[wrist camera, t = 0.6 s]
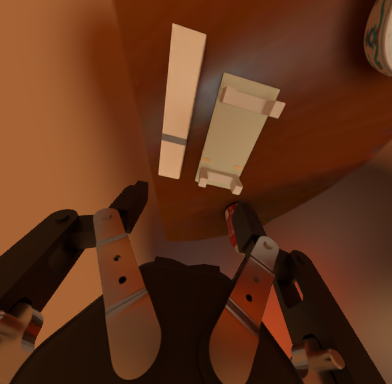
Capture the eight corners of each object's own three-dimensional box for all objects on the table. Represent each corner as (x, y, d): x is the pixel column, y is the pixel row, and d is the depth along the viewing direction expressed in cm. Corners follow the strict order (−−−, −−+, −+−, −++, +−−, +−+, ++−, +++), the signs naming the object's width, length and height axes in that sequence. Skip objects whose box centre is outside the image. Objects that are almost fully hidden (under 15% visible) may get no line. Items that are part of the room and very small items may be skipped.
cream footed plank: (223, 73, 23) (229, 66, 18) (278, 90, 24) (297, 87, 19) (195, 179, 35) (193, 192, 30) (232, 188, 36) (237, 202, 31)
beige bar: (177, 36, 21) (172, 22, 17) (206, 45, 22) (206, 34, 18) (163, 166, 33) (158, 174, 30) (181, 170, 34) (178, 179, 30)
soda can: (222, 217, 42) (228, 254, 32) (228, 200, 38) (237, 235, 28) (244, 220, 42) (256, 258, 32) (252, 203, 38) (269, 239, 28)
